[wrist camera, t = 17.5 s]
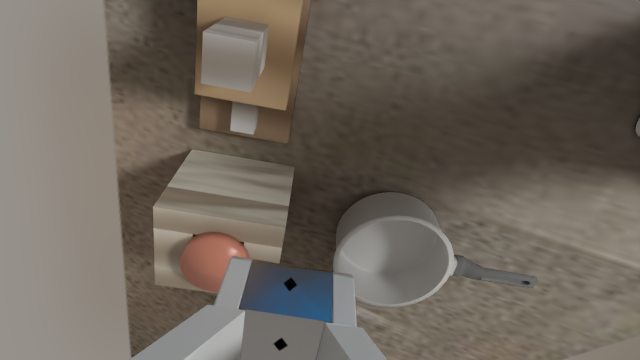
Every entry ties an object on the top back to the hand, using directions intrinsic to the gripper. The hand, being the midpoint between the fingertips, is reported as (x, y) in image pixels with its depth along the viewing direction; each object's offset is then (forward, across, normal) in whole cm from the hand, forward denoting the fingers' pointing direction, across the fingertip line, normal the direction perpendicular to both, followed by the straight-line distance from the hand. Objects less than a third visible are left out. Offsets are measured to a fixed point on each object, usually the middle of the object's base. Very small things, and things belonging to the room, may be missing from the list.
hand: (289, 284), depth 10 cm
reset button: (+20, -6, -15) cm, 26 cm away
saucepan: (+28, +14, -17) cm, 36 cm away
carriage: (+26, -6, +1) cm, 26 cm away
